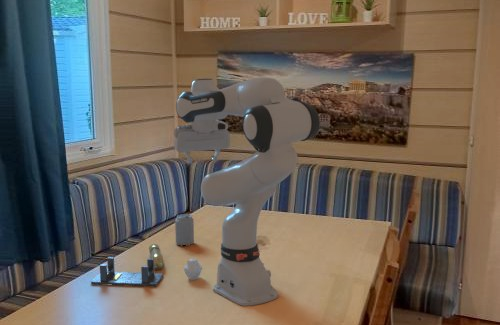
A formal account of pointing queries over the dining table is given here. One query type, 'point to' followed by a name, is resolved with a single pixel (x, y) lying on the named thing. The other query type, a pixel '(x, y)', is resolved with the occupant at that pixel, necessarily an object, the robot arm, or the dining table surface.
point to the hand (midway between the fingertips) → (202, 161)
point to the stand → (128, 275)
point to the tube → (156, 256)
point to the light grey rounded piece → (193, 269)
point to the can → (184, 229)
